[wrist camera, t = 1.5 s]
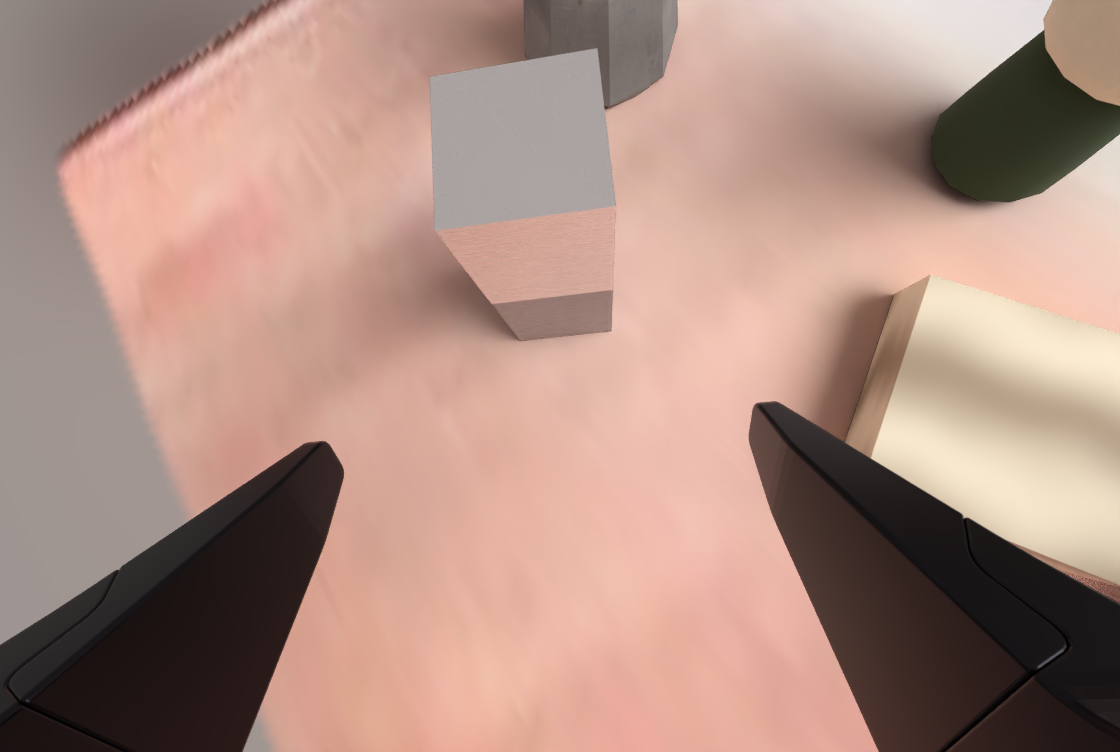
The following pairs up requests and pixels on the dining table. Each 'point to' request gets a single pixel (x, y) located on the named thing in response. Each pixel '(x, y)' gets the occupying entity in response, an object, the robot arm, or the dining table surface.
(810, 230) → the dining table surface
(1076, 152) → the character mug
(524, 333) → the block
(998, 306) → the stand
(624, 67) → the coffeepot
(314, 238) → the dining table surface
